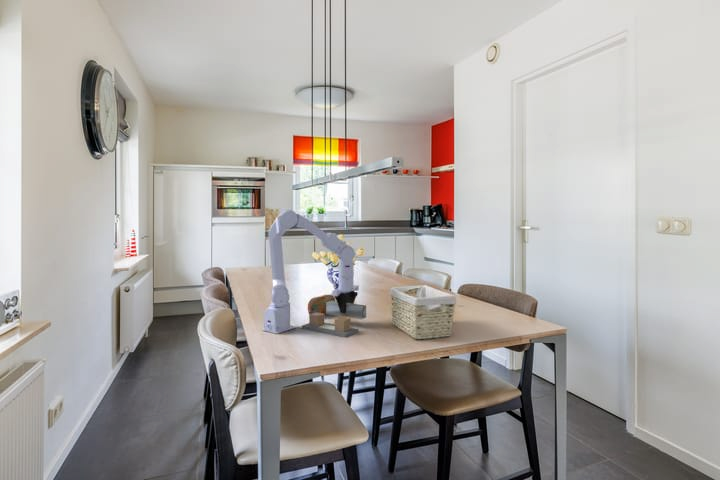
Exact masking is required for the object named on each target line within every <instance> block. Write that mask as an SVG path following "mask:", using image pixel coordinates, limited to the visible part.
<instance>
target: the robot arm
mask: <svg viewBox="0 0 720 480" xmlns="http://www.w3.org/2000/svg"><path fill="white" fill-rule="evenodd" d="M294 226H295V227H296V228H302V229H305V230H306V231H308V232H309V233H310V234H312V235H314V236H315V237H316V238H318V239H320V242H321V246H323V247H325V248H326V249H327V250H329V251H330V252H331V253H333V254H334V255H337V257H338V287H337V288H335V289H333V290H332V292H331V293H332V294H331V295H332V296H333V297H334V298H335V301H337V303H338V306H339V310H340V313H346V304H347V303H351V304H355V300H356V298H357V297H358V292H357V291H360V290H359V289H360V288H359V287H360V285H359V284H358V285H355V284H354V274H355V273H354V271H355V270H354V259H355V257H356V252H355V249H354V247H352V246H351V245H349V244H347V241H345V240H342V239H341V238H339V237H338V236H337V234H336V233H335V232H334V233H332V232H325V231H323V230H322V229H321V228H320V227H318V226H317V225H316V224H315V223H314V222H312V221H311V220H309V219H308V218H306V217H305V216H303V215H302V214H299V213H296V211H294V210H292V209H285V210H283V211H281V212H280V214H278V215H277V216H276V217H275V219H274V221H273V222H272V224H271V226H270V228H269V229H268V232H267V233H268V244H269V253H270V254H269V255H270V265H271V267H270V268H271V275H272V277H271V278H272V290H271V293H270V294H271V302H270V303H269V304H270V305H269V307H267V308H265V310H264V311H263V328H261V329H262V331H264V332H269V333H273V334H281V333H283V332H286V331H288V330H292V329H296V326H295V325H291V303H290V302H289V301H290V294H289V290H288V288H287V286H286V276H285V266H284V254H283V244H282V242H283V241H282V236H283V235H284V234H285V233H287V231H288V230H289V229H292V228H293V227H294Z"/></svg>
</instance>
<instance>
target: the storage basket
mask: <svg viewBox="0 0 720 480" xmlns="http://www.w3.org/2000/svg"><path fill="white" fill-rule="evenodd" d="M412 294H415V295H412ZM389 295H390V301H391V303H390V304H391V305H390V306H391V307H390V308H391V320H392V321H391V323H392V325H394V326H395V327H396V328H398V329H399V330H401V331H403V332H404V333H406V334H407V335H409V336H411V337H412V338H413V339H416V340H422V339H423V340H426V339H437V338H445V337H451V335H452V333H453V331H452V330H453V326H454V325H453V322H454V321H453V320H454V313H455V307H456V306H455V305H456V304H457V300H456V299H457V298H456V296H455V295H454V294H451V293H449V292H445V291H443V290H440V289H437V288H436V287H435V288H434V287H432V286H429V285H427V284H421V285H406V286H392V287H391V288H390V291H389Z"/></svg>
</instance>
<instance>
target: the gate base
mask: <svg viewBox="0 0 720 480" xmlns="http://www.w3.org/2000/svg"><path fill="white" fill-rule="evenodd" d="M308 319H309V320H308V323H305V324H302V325H301V329H304V330H309V331H314V332H318V333H322V334H328V335H332V336H338V337H342V338H347V337H350V336H351V335H354V334H357V333H358V332H359V328H356V327H351V318H350V317H343V316H339V317H338V318H334V323H329V322H325V316H324V314H322V313H317V312H316V313H313V314H310V315H309V314H308Z"/></svg>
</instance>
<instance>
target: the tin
mask: <svg viewBox="0 0 720 480" xmlns="http://www.w3.org/2000/svg"><path fill="white" fill-rule="evenodd" d="M329 301H336V299H335V297H334V296H332V294H324V295H318V296H315V297H314V296H313V297H312V298H310V299H309V301H308V303H307V313H308V316H309V315H310V314H313V313H316V312H317V313H322V314H324V317H325V316H328V315H330V314H326V302H329Z"/></svg>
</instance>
